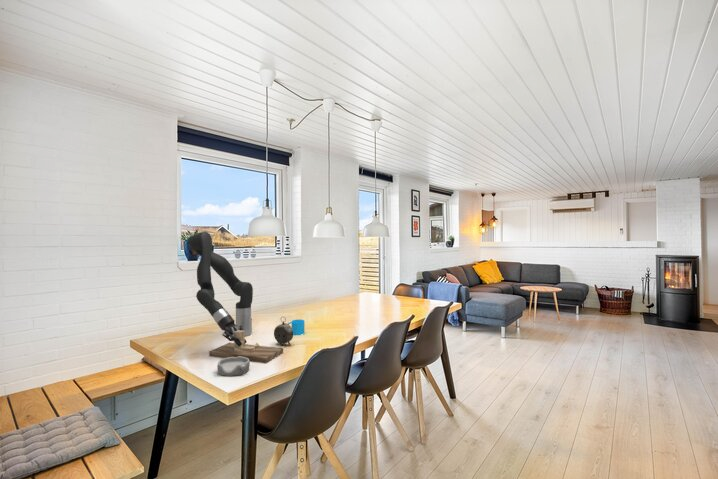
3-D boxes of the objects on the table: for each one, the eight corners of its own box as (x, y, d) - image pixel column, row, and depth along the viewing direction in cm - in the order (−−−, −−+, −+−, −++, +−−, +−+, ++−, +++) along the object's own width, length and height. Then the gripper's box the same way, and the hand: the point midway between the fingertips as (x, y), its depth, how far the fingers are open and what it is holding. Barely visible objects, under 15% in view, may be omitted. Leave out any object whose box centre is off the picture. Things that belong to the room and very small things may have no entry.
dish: (249, 375, 154) (249, 364, 154) (215, 379, 151) (215, 367, 151) (249, 364, 168) (249, 353, 168) (219, 367, 164) (219, 356, 164)
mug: (305, 332, 226) (305, 319, 226) (302, 335, 218) (302, 322, 218) (287, 331, 227) (287, 319, 227) (284, 335, 219) (284, 322, 219)
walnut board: (229, 346, 195) (229, 342, 195) (283, 352, 184) (283, 348, 184) (208, 356, 179) (208, 351, 179) (266, 363, 169) (266, 358, 169)
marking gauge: (246, 345, 189) (246, 326, 189) (262, 347, 186) (262, 328, 186) (234, 351, 180) (234, 331, 180) (251, 352, 177) (250, 333, 177)
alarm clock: (293, 345, 198) (293, 316, 198) (288, 347, 193) (288, 318, 193) (278, 342, 203) (278, 314, 203) (272, 345, 198) (272, 316, 198)
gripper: (218, 317, 176) (238, 343, 172) (236, 311, 190) (255, 336, 186) (209, 326, 178) (229, 353, 174) (228, 320, 191) (247, 345, 187)
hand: (243, 344), depth 180 cm, fingers closed on marking gauge, 3 cm apart
